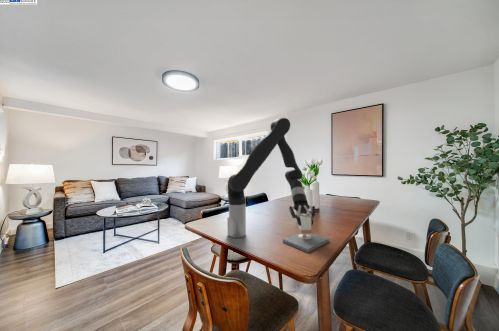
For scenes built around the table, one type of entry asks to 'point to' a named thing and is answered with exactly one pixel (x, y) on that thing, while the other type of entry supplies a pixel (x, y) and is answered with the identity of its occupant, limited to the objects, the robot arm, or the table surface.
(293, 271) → the table surface
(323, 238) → the pin board
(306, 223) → the sleeve
